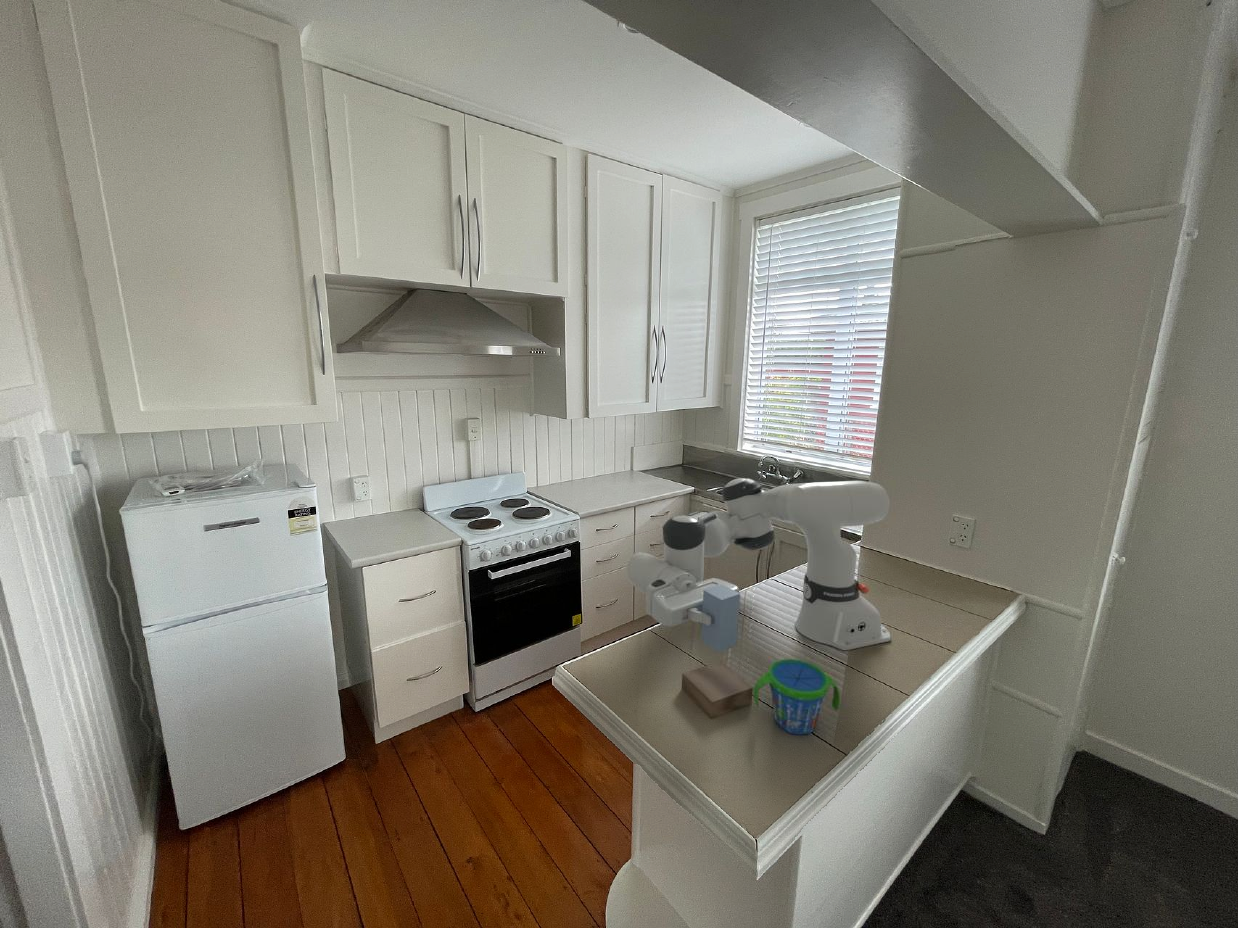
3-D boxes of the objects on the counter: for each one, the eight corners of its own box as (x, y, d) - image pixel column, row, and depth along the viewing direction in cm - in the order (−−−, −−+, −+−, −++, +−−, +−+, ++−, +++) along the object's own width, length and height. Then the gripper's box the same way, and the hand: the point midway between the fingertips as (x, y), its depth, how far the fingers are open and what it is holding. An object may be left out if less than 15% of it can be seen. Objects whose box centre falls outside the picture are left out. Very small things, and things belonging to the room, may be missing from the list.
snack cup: (755, 737, 92) (758, 687, 90) (748, 700, 102) (752, 654, 100) (845, 748, 90) (851, 697, 88) (830, 708, 100) (835, 662, 98)
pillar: (718, 633, 104) (721, 584, 102) (736, 644, 100) (740, 593, 98) (700, 640, 102) (703, 590, 99) (718, 652, 98) (721, 599, 95)
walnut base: (719, 677, 110) (720, 661, 109) (751, 705, 101) (752, 687, 100) (681, 690, 105) (682, 673, 105) (711, 720, 97) (712, 702, 96)
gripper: (711, 592, 117) (758, 617, 105) (640, 615, 105) (684, 646, 94) (712, 566, 115) (760, 589, 104) (640, 587, 104) (685, 615, 93)
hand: (723, 616), depth 99 cm, fingers closed on pillar, 5 cm apart
